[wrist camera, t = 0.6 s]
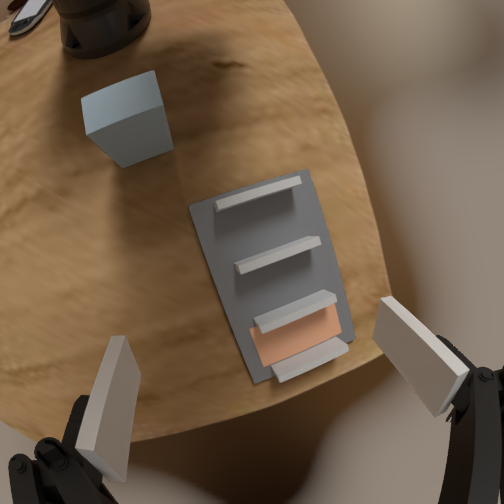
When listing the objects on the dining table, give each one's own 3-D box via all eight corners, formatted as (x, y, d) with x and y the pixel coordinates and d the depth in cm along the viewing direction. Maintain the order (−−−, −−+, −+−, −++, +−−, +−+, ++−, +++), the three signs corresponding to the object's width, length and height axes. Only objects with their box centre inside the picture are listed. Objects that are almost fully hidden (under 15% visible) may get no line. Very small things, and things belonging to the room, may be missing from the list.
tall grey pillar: (116, 141, 31) (80, 98, 18) (166, 122, 32) (154, 69, 19) (122, 168, 32) (86, 134, 19) (174, 149, 33) (163, 104, 20)
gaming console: (36, 32, 26) (31, 25, 23) (6, 41, 24) (1, 35, 21) (78, -26, 25) (76, -33, 23) (48, -18, 23) (45, -24, 21)
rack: (187, 206, 33) (186, 202, 29) (305, 169, 36) (318, 162, 32) (253, 381, 36) (260, 397, 32) (353, 336, 39) (368, 346, 35)
